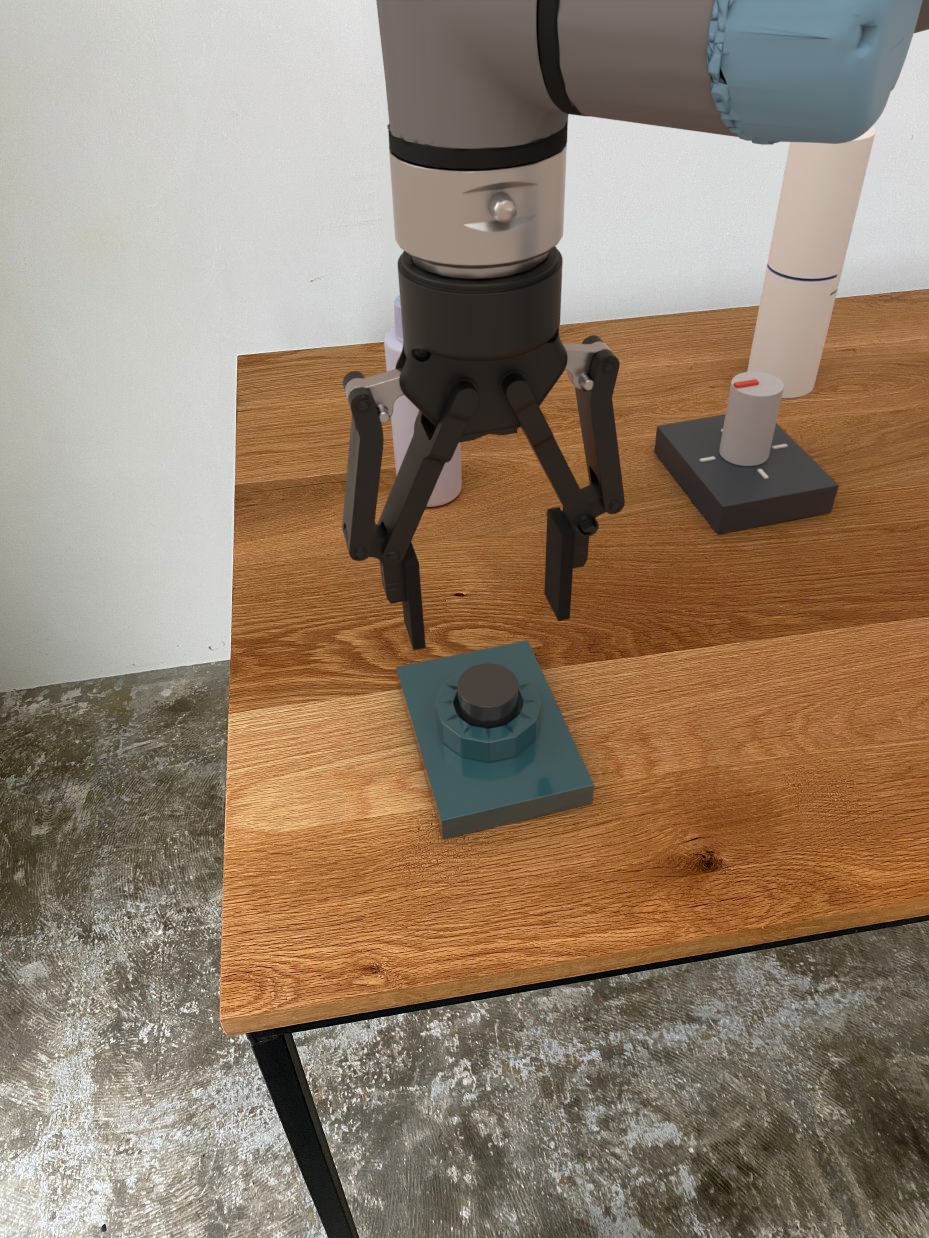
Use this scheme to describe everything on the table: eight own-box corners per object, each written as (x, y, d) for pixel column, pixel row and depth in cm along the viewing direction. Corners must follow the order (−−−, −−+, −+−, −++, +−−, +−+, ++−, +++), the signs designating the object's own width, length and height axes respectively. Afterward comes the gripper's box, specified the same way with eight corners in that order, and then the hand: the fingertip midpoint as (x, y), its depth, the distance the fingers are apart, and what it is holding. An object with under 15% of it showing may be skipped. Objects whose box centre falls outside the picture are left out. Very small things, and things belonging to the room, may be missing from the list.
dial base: (831, 513, 83) (839, 483, 81) (717, 534, 81) (723, 504, 79) (756, 434, 93) (762, 406, 91) (653, 452, 92) (657, 423, 89)
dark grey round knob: (525, 721, 61) (526, 699, 60) (466, 734, 61) (466, 712, 59) (508, 679, 64) (508, 657, 63) (452, 691, 64) (450, 669, 62)
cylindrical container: (732, 376, 102) (775, 126, 86) (782, 360, 105) (835, 114, 88) (776, 404, 98) (832, 146, 81) (828, 387, 100) (893, 132, 83)
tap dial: (754, 437, 87) (768, 365, 82) (777, 461, 84) (794, 388, 79) (710, 444, 87) (723, 372, 82) (733, 469, 83) (747, 396, 78)
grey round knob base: (592, 804, 61) (596, 764, 58) (442, 839, 59) (439, 800, 56) (527, 658, 71) (528, 619, 68) (398, 685, 69) (393, 646, 66)
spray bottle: (468, 504, 86) (460, 266, 71) (403, 513, 85) (381, 275, 70) (455, 469, 90) (445, 238, 76) (393, 477, 90) (371, 246, 75)
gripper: (250, 312, 38) (324, 698, 53) (733, 247, 41) (672, 626, 56) (236, 246, 43) (307, 613, 58) (664, 194, 47) (625, 553, 62)
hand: (486, 619), depth 57 cm, fingers open, 8 cm apart
